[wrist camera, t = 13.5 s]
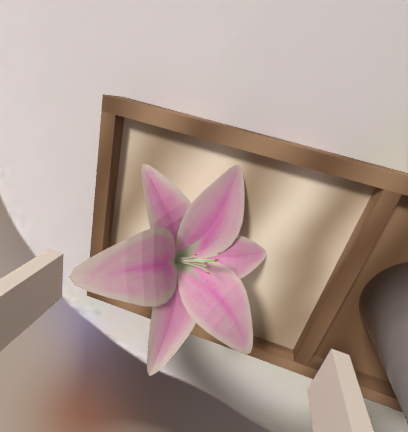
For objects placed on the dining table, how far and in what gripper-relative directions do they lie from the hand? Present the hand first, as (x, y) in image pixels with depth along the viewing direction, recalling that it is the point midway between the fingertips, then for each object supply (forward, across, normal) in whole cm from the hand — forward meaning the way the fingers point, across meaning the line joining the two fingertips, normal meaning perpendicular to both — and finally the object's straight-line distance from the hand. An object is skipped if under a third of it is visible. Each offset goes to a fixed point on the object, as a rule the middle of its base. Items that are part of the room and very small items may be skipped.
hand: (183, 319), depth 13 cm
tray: (+10, -6, 0) cm, 11 cm away
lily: (+9, +1, -1) cm, 9 cm away
